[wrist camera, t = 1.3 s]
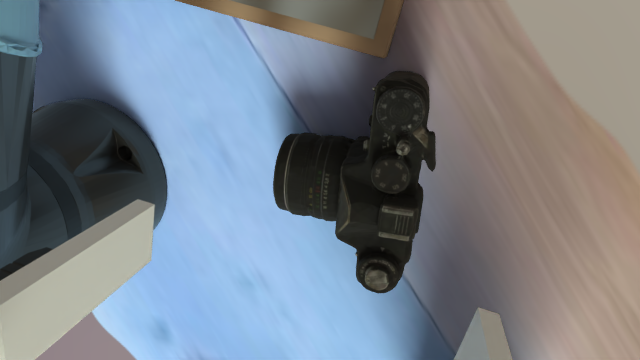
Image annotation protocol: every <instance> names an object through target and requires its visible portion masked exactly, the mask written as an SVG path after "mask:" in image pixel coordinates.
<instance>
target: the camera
mask: <svg viewBox="0 0 640 360" xmlns="http://www.w3.org/2000/svg"><path fill="white" fill-rule="evenodd" d="M373 90H374V91H375V95H374V102H373V112H372V115H371V116H370V117H369V125H370V126H371V131H370V138H369V137H368V136H360V137H359V138H357V139H356V140H354V139H349V138H346V137H343V136H332V135H325V136H320V135H317V134H314V133H302V134H290V135H288V136H287V137H286V138H285V139H284V141H283V143H282V145H281V148H280V150H279V153H278V156H277V160H276V165H275V171H274V181H273V191H274V197H275V201H276V204H277V206H278V207H279V208H280V209H283V210H287V211H289V212H291V213H292V214H295V215H302V216H312V217H315V218H318V219H324V220H326V221H336V230H335V234H336V237H337V238H338V239H339V240H341V241H343V242H345V243H347V244H349V245H351V246H353V247H354V248H356V249H357V252H356V254H355V255H356V256H357V266H356V277H357V280H358V281H359V282H360V283H361V284H362V285H363V287H365V288H366V289H368V290H370V291H372V292H376V293H386V292H388V291H390V290H392V289H393V288H394V287H395V286H396V285H397V283H398V281H399V280H400V278H401V277H402V274H403V270H404V266H405V264H406V263H407V262H408V261H409V259H410V256H411V251H412V242H413V240H412V239H414V236H415V233H417V232H418V229H419V222H420V216H421V209H422V203H423V189H422V187H421V186H420V184H419V183H418V179H419V173H420V169H421V162H422V160H425V161H426V163H427V165H428V168H429V169H430V170H431V171H432V172H433V170H434V169H435V165H436V160H435V133H434V132H433V131H429V130H428V129H427V120H428V113H429V87H428V84H427V81H426V80H425V79H424V78H423V77H422V76H421V75H419V74H417V73H413V72H406V71H395V72H392V73H391V74H389V75H388V76H387V77H386V78H385V79H382V80H380V81H379V82H378V84H377V86H376V87H373Z"/></svg>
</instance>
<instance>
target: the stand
mask: <svg viewBox="0 0 640 360" xmlns="http://www.w3.org/2000/svg"><path fill="white" fill-rule="evenodd" d="M175 1H179V2H183V3H186V4H190V5H193V6H197V7H201V8H204V9H208V10H211V11H215V12H219V13H222V14H226V15H229V16H233V17H237V18H240V19H244V20H247V21H251V22H255V23H258V24H262V25H265V26H269V27H273V28H276V29H280V30H283V31H287V32H291V33H294V34H298V35H301V36H305V37H309V38H312V39H316V40H319V41H323V42H327V43H330V44H334V45H337V46H341V47H345V48H348V49H352V50H356V51H359V52H363V53H366V54H370V55H374V56H377V57H381V58H385V57H387V55H388V52H389V49H390V45H391V42H392V39H393V35H394V32H395V29H396V25H397V22H398V19H399V15H400V12H401V8H402V5H403V2H404V0H175Z"/></svg>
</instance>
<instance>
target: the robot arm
mask: <svg viewBox="0 0 640 360" xmlns="http://www.w3.org/2000/svg"><path fill="white" fill-rule="evenodd" d="M42 46H43V44H42V42H41V40H40V38H39V0H0V360H35V359H36V358H37V357H39V356H40V355H41V354H42V353H43V352H44V351H46V350H47V349H48V348H49V347H50V346H52V345H53V344H54V343H55V342H56V341H57V340H59V339H60V338H61V337H62V336H63V335H64V334H66V333H67V332H68V331H69V330H70V329H71V328H72V327H74V326H75V325H76V324H77V323H78V322H80V321H81V320H82V319H83V318H84V317H85V316H87V315H88V314H89V313H90V312H91V311H92V310H94V309H95V308H96V307H97V306H98V305H99V304H101V303H102V302H103V301H104V300H105V299H106V298H108V297H109V296H110V295H111V294H112V293H113V292H115V291H116V290H117V289H118V288H119V287H121V286H122V285H123V284H124V283H125V282H126V281H128V280H129V279H130V278H131V277H132V276H133V275H135V274H136V273H137V272H138V271H139V270H140V269H142V268H143V267H144V266H145V265H146V264H147V263H149V262H150V261H151V255H152V239H153V230H154V229H155V228H156V226H157V225H158V223H159V222H160V220H161V218H162V216H163V213H164V210H165V206H166V200H167V185H166V178H165V173H164V169H163V166H162V163H161V160H160V158H159V156H158V154H157V152H156V150H155V148H154V146H153V144H152V143H151V141H150V140H149V138H148V137H147V136H146V134H145V133H144V132H143V131H142V130H141V128H140V127H139V126H138V125H137V124H136V123H135V122H134V121H133V120H131V119H130V118H129V117H128V116H127V115H125V114H124V113H122V112H121V111H119V110H118V109H116V108H114V107H112V106H110V105H108V104H106V103H103V102H100V101H96V100H92V99H72V100H66V101H61V102H55V103H51V104H48V105H46V106H43V107H41V108H39V109H37V110H36V111H34V112H33V113H32V110H33V97H34V84H35V70H36V57H37V56H38V55H40V54H41V53H42ZM454 360H513V359H512V356H511V352H510V349H509V346H508V342H507V339H506V335H505V332H504V329H503V325H502V322H501V319H500V315H499V314H498V313H494V312H491V311H488V310H485V309H482V308H479V307H478V308H477V310H476V313H475V315H474V317H473V319H472V321H471V323H470V326H469V328H468V330H467V332H466V334H465V336H464V338H463V341H462V343H461V345H460V347H459V349H458V351H457V353H456V356H455V358H454Z"/></svg>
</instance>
